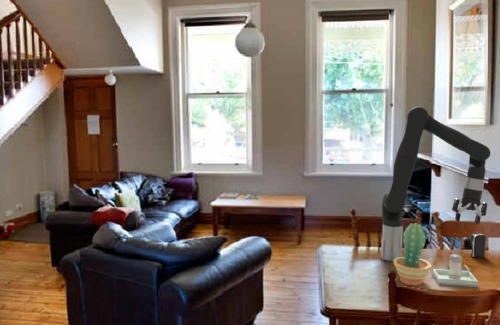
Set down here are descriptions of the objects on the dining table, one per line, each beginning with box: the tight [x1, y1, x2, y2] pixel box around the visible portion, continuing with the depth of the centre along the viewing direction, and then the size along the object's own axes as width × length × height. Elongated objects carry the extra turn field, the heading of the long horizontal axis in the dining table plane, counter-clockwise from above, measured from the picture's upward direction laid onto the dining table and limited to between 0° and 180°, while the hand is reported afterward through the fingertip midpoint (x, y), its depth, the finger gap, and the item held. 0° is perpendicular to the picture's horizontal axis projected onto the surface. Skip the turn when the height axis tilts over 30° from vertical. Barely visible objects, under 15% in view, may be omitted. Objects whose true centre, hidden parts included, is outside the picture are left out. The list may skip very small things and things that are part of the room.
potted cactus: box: [392, 222, 432, 286], centre depth 173 cm, size 15×15×25 cm
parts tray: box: [432, 268, 479, 288], centre depth 174 cm, size 15×11×2 cm
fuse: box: [448, 253, 463, 279], centre depth 174 cm, size 5×5×10 cm
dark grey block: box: [469, 233, 487, 259], centre depth 204 cm, size 7×4×11 cm, turn 107°
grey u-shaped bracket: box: [447, 263, 473, 273], centre depth 185 cm, size 8×9×2 cm
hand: (466, 222), depth 188 cm, fingers open, 8 cm apart
